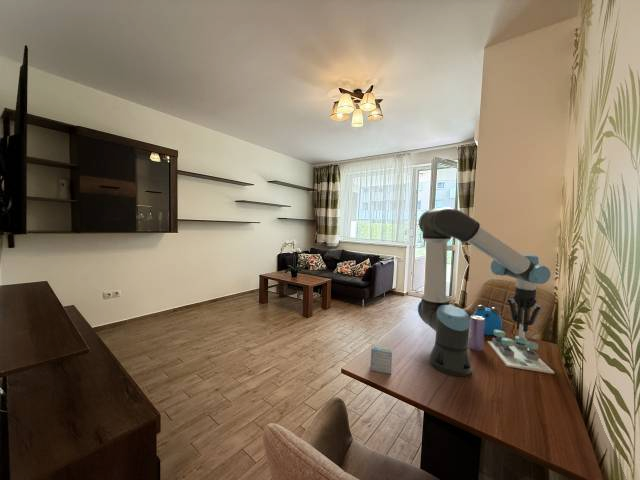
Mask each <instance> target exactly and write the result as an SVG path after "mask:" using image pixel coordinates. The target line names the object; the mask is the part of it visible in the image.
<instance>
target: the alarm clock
mask: <svg viewBox="0 0 640 480" xmlns="http://www.w3.org/2000/svg"><path fill="white" fill-rule="evenodd" d="M474 309H475V311H474V313H473V315H477V316H481V317H483V318H485V328H484V335H485V336H493V335H494V330H501V329H502V327H503V319H502V317H501V314H502V313H501V310H500V309H499V307H496V306H491V307H490V306H487V307H486V306H485V305H484V304H477V305H476V306H475V307H474ZM501 331H502V330H501ZM494 336H495V335H494Z"/></svg>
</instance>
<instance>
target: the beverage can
mask: <svg viewBox="0 0 640 480" xmlns="http://www.w3.org/2000/svg"><path fill="white" fill-rule="evenodd" d="M469 323H470V326H469V334H468V346H467V347H468V348H469V349H470V350H472V351H476V352H482V350H484V349H483V348H484V340H485V339H484V337H485V334H484V328H485V318H483V317H481V316H477V315H474V314H472V315H470V316H469Z"/></svg>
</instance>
